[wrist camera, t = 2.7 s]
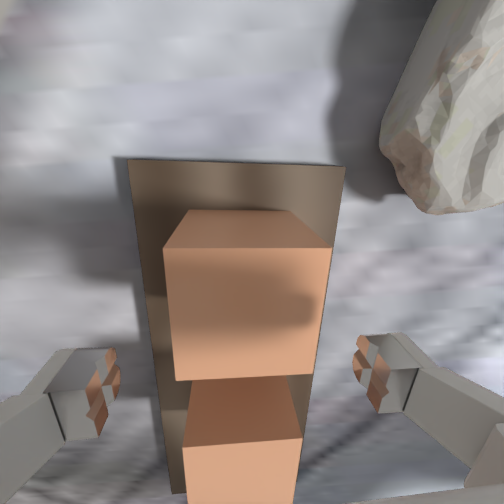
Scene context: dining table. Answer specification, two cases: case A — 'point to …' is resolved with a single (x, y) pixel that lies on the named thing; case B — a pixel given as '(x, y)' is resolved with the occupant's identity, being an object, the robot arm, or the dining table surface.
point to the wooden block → (241, 441)
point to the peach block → (244, 294)
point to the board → (217, 198)
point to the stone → (451, 111)
